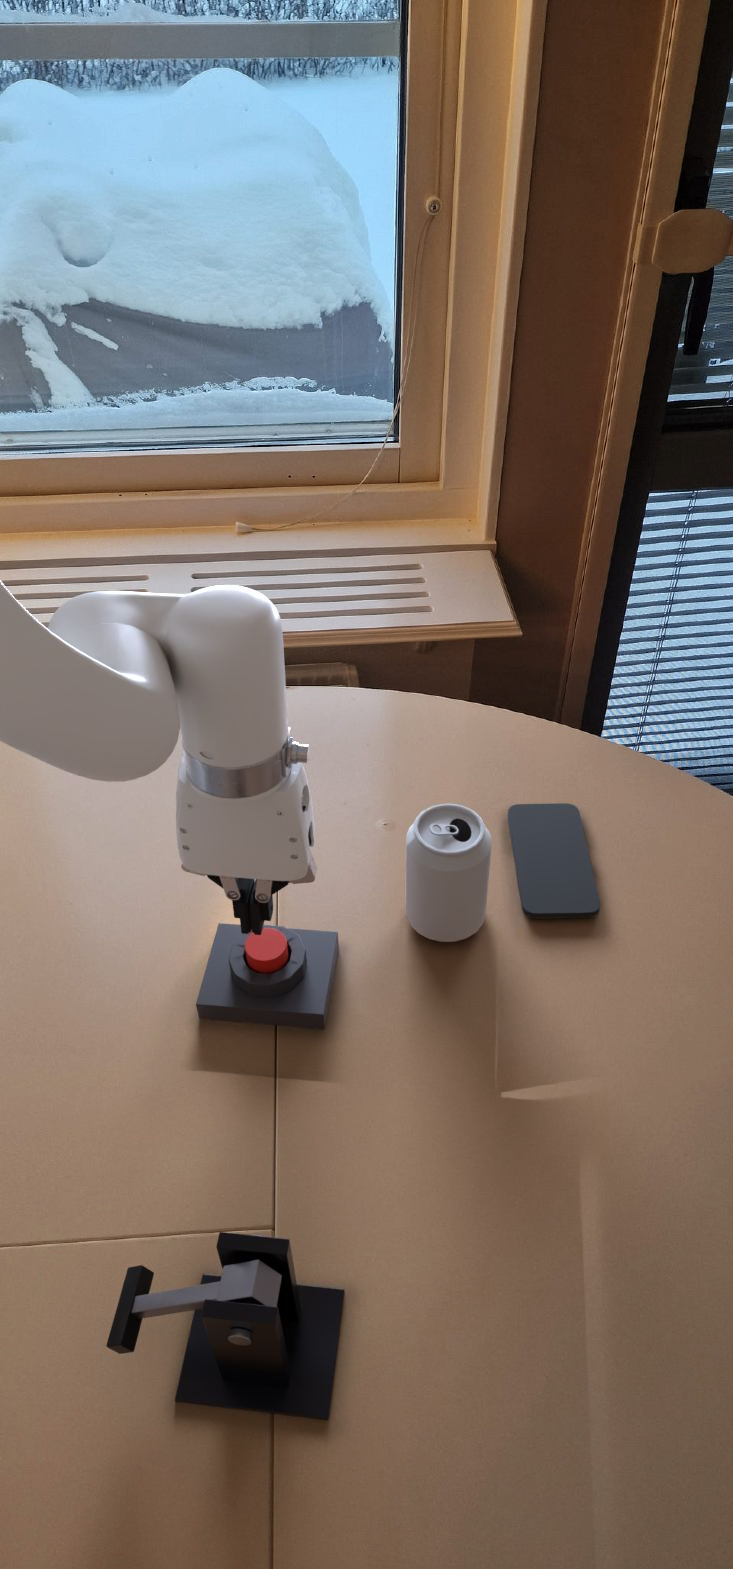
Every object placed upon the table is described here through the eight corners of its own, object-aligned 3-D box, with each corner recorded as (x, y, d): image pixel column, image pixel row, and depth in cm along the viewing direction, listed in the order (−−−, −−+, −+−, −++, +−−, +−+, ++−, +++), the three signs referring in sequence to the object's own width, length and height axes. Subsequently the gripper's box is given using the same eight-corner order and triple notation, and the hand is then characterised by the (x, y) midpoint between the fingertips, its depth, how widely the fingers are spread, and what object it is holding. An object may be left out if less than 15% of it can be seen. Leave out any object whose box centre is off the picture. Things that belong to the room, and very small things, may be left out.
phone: (578, 802, 107) (603, 912, 96) (577, 808, 108) (602, 918, 96) (506, 803, 107) (523, 914, 96) (505, 809, 108) (522, 919, 97)
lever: (125, 1357, 67) (99, 1343, 65) (146, 1278, 70) (122, 1263, 69) (271, 1337, 61) (246, 1321, 60) (286, 1252, 65) (263, 1235, 64)
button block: (199, 1019, 89) (192, 991, 87) (221, 938, 96) (216, 909, 93) (324, 1029, 88) (322, 1001, 86) (338, 946, 95) (337, 918, 92)
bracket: (177, 1406, 67) (147, 1337, 59) (204, 1280, 73) (181, 1203, 65) (329, 1424, 66) (319, 1357, 58) (345, 1295, 72) (338, 1219, 64)
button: (243, 971, 89) (241, 959, 87) (251, 939, 91) (249, 926, 90) (284, 975, 88) (282, 962, 87) (291, 942, 91) (290, 929, 90)
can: (494, 941, 95) (502, 851, 87) (414, 953, 94) (415, 863, 86) (474, 882, 100) (481, 791, 92) (398, 892, 100) (398, 802, 92)
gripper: (347, 728, 76) (349, 895, 88) (149, 714, 77) (178, 880, 90) (333, 797, 71) (337, 965, 83) (120, 780, 72) (155, 948, 84)
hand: (254, 921), depth 86 cm, fingers closed
